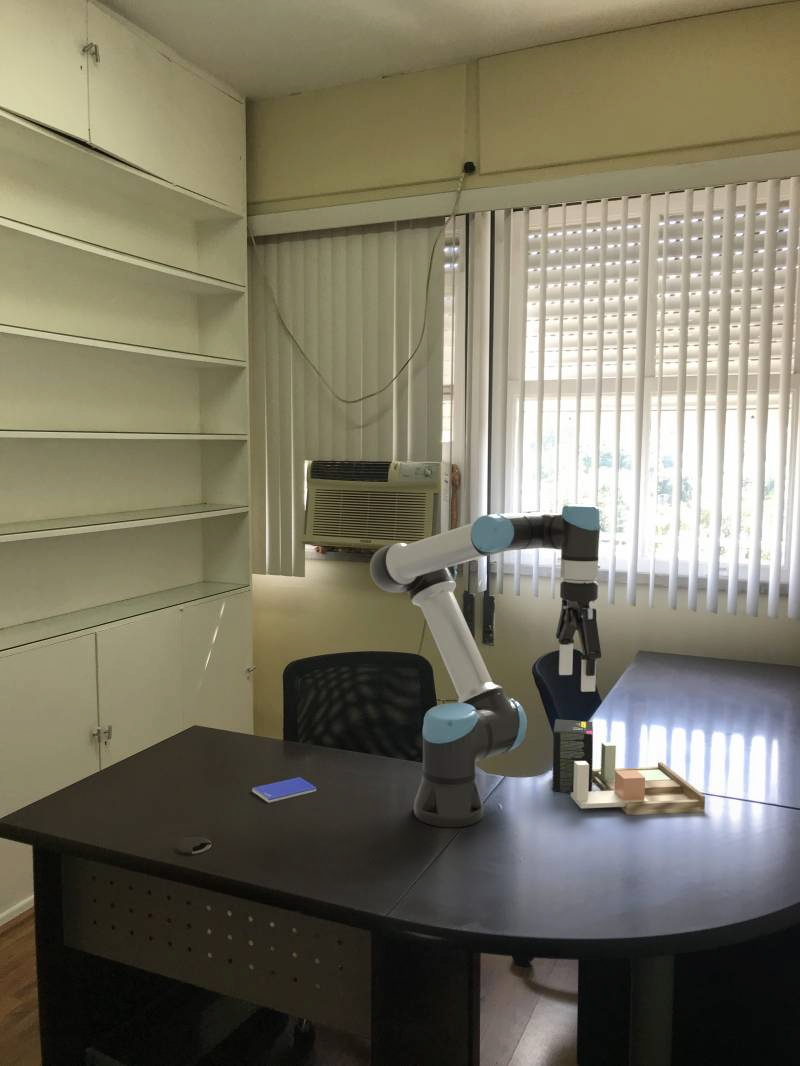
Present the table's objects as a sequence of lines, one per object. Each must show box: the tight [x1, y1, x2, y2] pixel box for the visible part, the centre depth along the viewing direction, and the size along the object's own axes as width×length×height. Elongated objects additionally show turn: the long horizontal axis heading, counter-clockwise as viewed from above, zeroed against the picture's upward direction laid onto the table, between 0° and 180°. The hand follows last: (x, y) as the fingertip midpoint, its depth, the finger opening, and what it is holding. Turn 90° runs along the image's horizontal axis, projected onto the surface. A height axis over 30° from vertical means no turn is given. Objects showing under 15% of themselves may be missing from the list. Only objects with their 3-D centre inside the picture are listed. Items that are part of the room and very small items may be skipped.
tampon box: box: [551, 718, 594, 794], centre depth 205 cm, size 11×9×15 cm
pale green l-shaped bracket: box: [598, 741, 671, 783], centre depth 205 cm, size 16×7×9 cm, turn 98°
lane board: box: [592, 761, 706, 816], centre depth 200 cm, size 18×22×4 cm
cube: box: [614, 770, 645, 800], centre depth 193 cm, size 5×5×5 cm
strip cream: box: [570, 761, 649, 809], centre depth 192 cm, size 16×7×9 cm, turn 98°
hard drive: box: [251, 776, 317, 803], centre depth 200 cm, size 2×8×12 cm
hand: (576, 682), depth 177 cm, fingers open, 13 cm apart
